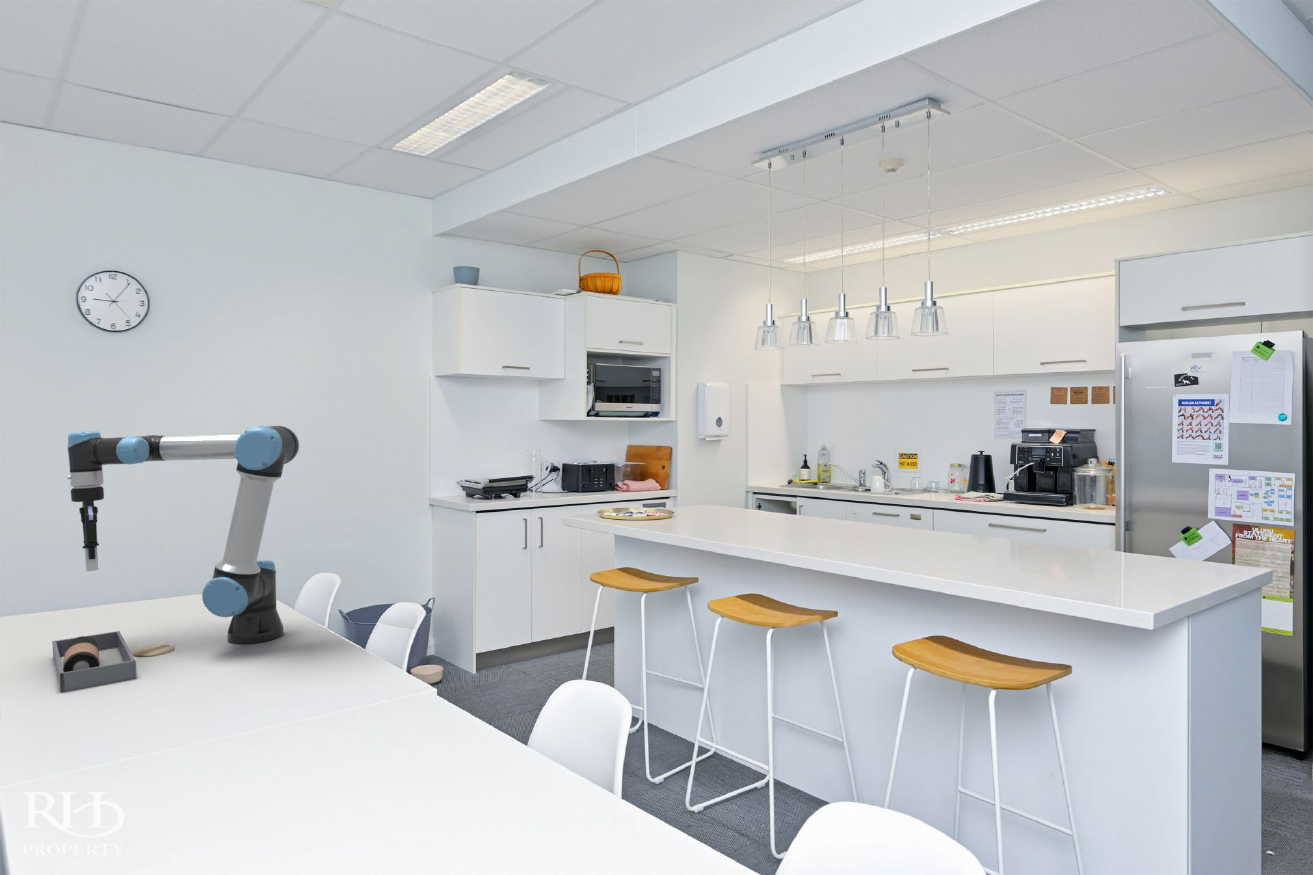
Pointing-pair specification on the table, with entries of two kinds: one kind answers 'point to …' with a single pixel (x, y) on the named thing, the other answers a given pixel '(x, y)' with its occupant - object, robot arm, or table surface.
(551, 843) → the table surface
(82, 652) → the travel mug
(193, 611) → the table surface
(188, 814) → the table surface
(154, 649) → the cork coaster
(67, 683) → the tray
